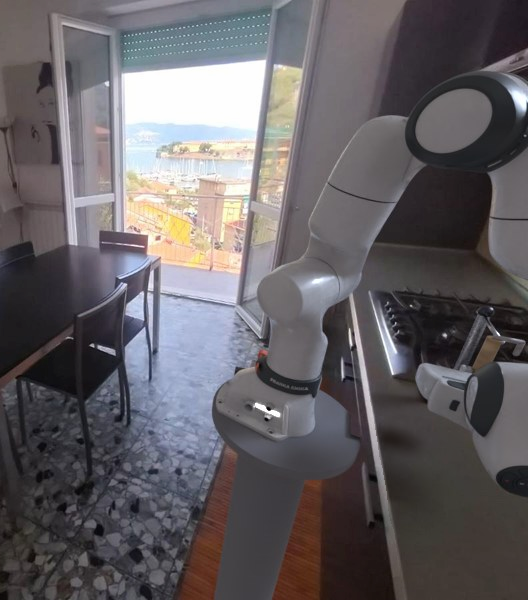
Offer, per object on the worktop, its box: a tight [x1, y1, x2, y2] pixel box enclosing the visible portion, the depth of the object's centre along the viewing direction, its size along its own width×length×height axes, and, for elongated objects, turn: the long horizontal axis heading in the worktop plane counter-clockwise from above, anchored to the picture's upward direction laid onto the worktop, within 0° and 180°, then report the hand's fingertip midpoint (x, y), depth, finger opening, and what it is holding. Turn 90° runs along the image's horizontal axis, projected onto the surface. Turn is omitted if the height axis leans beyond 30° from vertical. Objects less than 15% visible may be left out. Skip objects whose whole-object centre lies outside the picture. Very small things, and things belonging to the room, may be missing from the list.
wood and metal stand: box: [426, 305, 506, 403], centre depth 78 cm, size 8×15×26 cm, turn 149°
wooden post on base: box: [471, 334, 527, 374], centre depth 70 cm, size 6×5×18 cm
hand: (476, 370), depth 71 cm, fingers closed on wooden post on base, 2 cm apart
